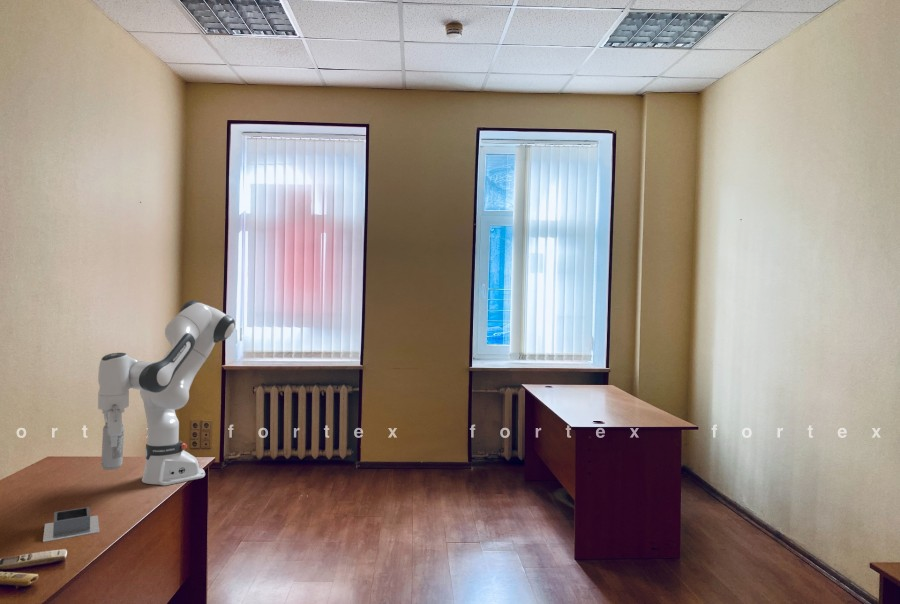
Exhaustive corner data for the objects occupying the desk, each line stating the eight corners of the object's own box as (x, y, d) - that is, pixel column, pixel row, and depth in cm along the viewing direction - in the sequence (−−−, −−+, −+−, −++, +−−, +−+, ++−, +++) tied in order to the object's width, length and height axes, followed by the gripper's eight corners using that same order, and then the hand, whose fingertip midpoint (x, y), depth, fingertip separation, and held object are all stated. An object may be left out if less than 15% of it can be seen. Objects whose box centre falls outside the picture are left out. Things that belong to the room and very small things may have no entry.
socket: (97, 518, 185) (97, 503, 185) (99, 533, 173) (99, 517, 173) (44, 527, 177) (45, 511, 177) (42, 543, 165) (43, 526, 165)
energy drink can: (111, 464, 192) (113, 420, 192) (126, 466, 191) (128, 421, 191) (96, 469, 186) (98, 423, 186) (112, 471, 185) (114, 425, 185)
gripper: (127, 407, 182) (126, 450, 182) (122, 396, 199) (121, 436, 199) (104, 408, 178) (103, 452, 178) (100, 398, 195) (100, 438, 195)
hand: (112, 443), depth 189 cm, fingers closed on energy drink can, 6 cm apart
